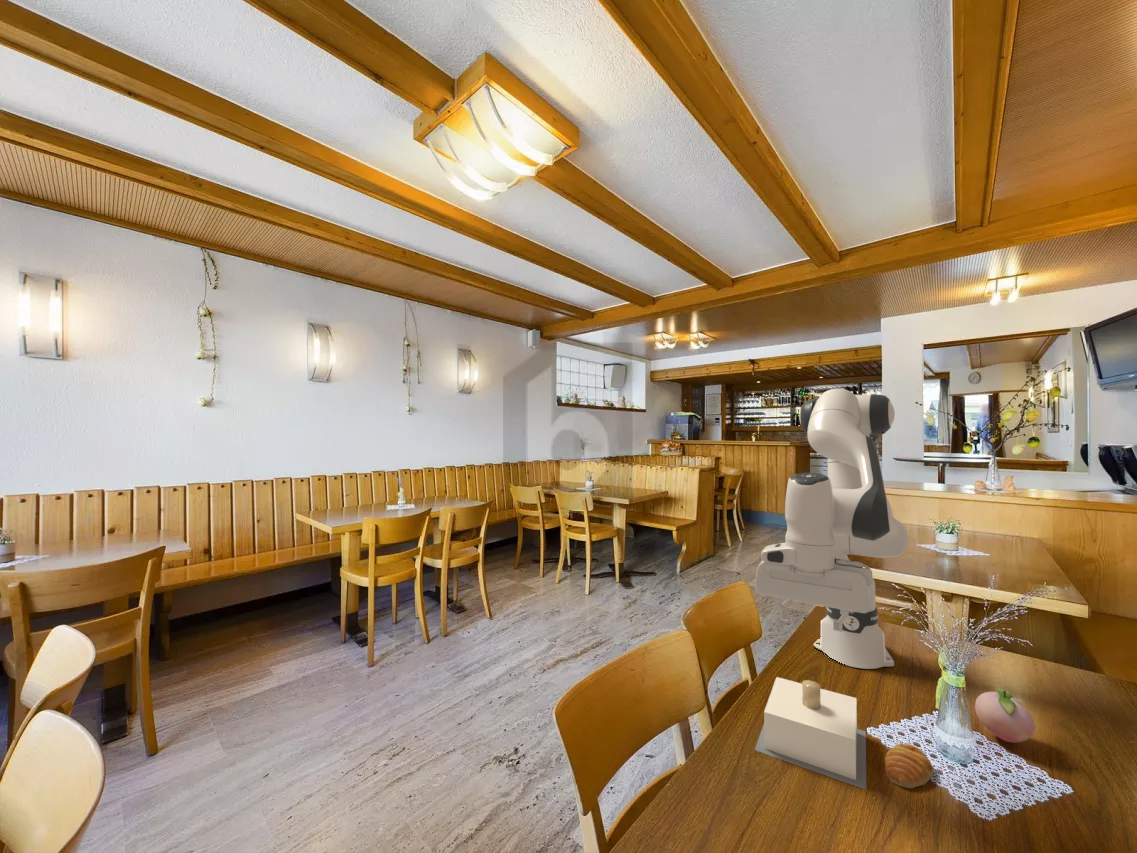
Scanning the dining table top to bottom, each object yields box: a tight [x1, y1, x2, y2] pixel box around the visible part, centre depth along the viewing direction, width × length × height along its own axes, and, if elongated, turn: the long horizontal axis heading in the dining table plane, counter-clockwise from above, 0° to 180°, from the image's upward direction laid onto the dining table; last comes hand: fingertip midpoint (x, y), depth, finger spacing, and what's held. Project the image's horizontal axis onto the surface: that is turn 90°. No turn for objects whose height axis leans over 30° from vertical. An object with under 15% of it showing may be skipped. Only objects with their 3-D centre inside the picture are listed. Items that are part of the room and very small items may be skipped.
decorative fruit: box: [974, 688, 1036, 744], centre depth 91 cm, size 9×8×10 cm
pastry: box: [884, 742, 935, 790], centre depth 82 cm, size 9×7×4 cm
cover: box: [763, 676, 858, 780], centre depth 90 cm, size 15×15×11 cm
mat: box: [754, 723, 867, 790], centre depth 90 cm, size 18×18×1 cm
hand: (810, 624), depth 91 cm, fingers open, 8 cm apart
